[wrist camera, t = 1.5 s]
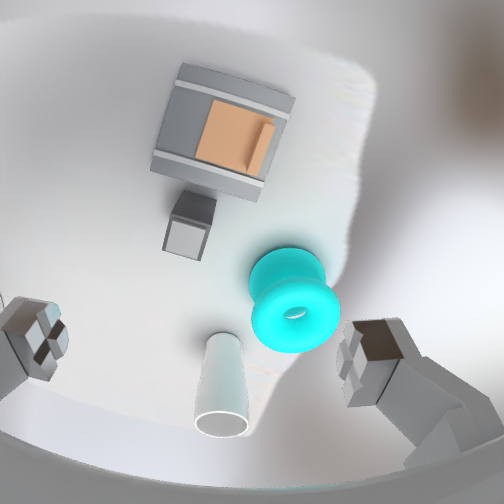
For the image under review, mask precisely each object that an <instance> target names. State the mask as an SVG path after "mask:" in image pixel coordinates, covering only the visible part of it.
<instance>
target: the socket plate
mask: <svg viewBox="0 0 504 504" xmlns="http://www.w3.org/2000/svg"><path fill="white" fill-rule="evenodd" d="M174 85H175V87H174V90H173V93H172V96H171V99H170V102H169V105H168V108H167V111H166V114H165V118H164V121H163V124H162V128H161V131H160V134H159V138H158V141H157V145H156V149H154V152H153V155H154V156H153V160H152V164H151V168H150V171H152V172H156V173H160V174H163V175H167V176H170V177H174V178H177V179H181V180H184V181H187V182H191V183H194V184H198V185H201V186H204V187H208V188H211V189H214V190H217V191H221V192H224V193H227V194H230V195H234V196H237V197H240V198H243V199H246V200H249V201H252V202H257V199H258V196H259V194H260V191H261V188H263V186H264V180H265V178H266V175H267V172H268V170H269V167H270V164H271V162H272V159H273V157H274V154H275V151H276V149H277V146H278V143H279V141H280V138H281V136H282V133H283V130H284V128H285V125H286V122H287V120H289V117H290V112H291V109H292V107H293V104H294V102H295V99H296V98H294V97H291V96H289V95H286V94H284V93H281V92H278V91H275V90H273V89H270V88H267V87H264V86H261V85H258V84H255V83H252V82H249V81H246V80H243V79H240V78H236V77H233V76H230V75H227V74H223V73H220V72H216V71H212V70H209V69H205V68H201V67H197V66H193V65H189V64H185V63H183V64H182V67H181V69H180V72H179V75H178V78H177V80H175V83H174ZM214 100H217V101H221V102H224V103H227V104H231V105H234V106H237V107H240V108H243V109H246V110H249V111H252V112H255V113H258V114H261V115H264V116H267V117H270V118H273V119H274V121H273V124H272V125H274V126H276V127H275V130H274V132H273V135H272V138H271V140H270V143H269V146H268V148H267V151H266V154H265V156H264V159H263V162H262V164H261V167H260V170H259V173H258V175H257V177H256V176H253V175H250V174H247V173H244V172H241V171H237V170H234V169H231V168H228V167H225V166H222V165H218V164H215V163H212V162H209V161H205V160H202V159H198V158H195V156H196V152H197V149H198V146H199V143H200V140H201V137H202V134H203V131H204V128H205V125H206V122H207V119H208V116H209V113H210V110H211V107H212V104H213V101H214Z"/></svg>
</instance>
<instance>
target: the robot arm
mask: <svg viewBox="0 0 504 504" xmlns="http://www.w3.org/2000/svg"><path fill="white" fill-rule="evenodd" d="M60 316H61V312H60V310H59V307H58V305H57V304H55V303H53V302H49V301H43V300H37V299H32V298H25V297H20V296H19V297H15V298H14V299H13V300H12V301H11V302H10V303H9V304H8V306H7V307H6V308H5V309H4V308H3V303H2V299H1V297H0V401H1V400H2V399H3V398H4V397H5V396H7V395H8V394H9V393H10V392H11V391H12V390H14V389H15V388H16V387H17V386H19V385H20V384H21V383H22V382H24V381H25V380H26V379H28V377H32V378H36V379H40V380H44V381H48V382H49V381H50V379H51V377H52V376H53V374H54V372H55V370H56V368H57V366H58V365H57V359H59V358H61V357H62V356H64V354H65V352H66V350H67V347H68V341H69V338H68V332H67V329H66V326H65V325H64V324H63V323H62V322H61V321H60V320H59V319H60ZM343 333H344V336H345V339H344V340H343V341H342V342H341V343H340V344H339V348H338V351H337V360H336V363H337V370H338V374H339V376H340V377H341V378H342V379H343V380H344V381H345V383H344V385H343V388H342V390H343V393H344V397H345V400H346V405H347V407H360V406H371V405H376V407H377V408H378V409H379V410H380V411H381V412H382V413H383V414H384V415H385V416H386V417H387V418H388V419H389V420H390V421H391V422H392V423H393V424H394V425H395V426H396V427H397V428H398V429H399V430H400V431H401V432H402V433H403V434H404V435H405V436H406V437H407V438H408V439H409V440H410V441H411V442H412V443H413V444H414V445H415V446H416V447H417V448H416V449H415V450H414V451H413V452H412V453H411V455H410V456H409V457H408V458H407V459H406V460H405V462H404V466H405V469H406V470H403V471H399V472H395V473H390V474H386V475H381V476H376V477H372V478H366V479H360V480H354V481H347V482H340V483H333V484H324V485H314V486H302V487H286V488H228V487H212V486H199V485H190V484H181V483H174V482H167V481H160V480H154V479H148V478H143V477H138V476H133V475H128V474H124V473H119V472H115V471H111V470H107V469H103V468H99V467H96V466H92V465H89V464H85V463H82V462H79V461H76V460H72V459H69V458H66V457H63V456H60V455H58V454H55V453H52V452H49V451H47V450H44V449H41V448H39V447H37V446H34V445H32V444H29V443H27V442H24V441H22V440H20V439H18V438H15V437H13V436H11V435H9V434H7V433H5V432H3V431H1V430H0V504H504V426H503V424H502V422H501V420H500V418H499V416H498V414H497V412H496V410H495V408H494V406H493V405H492V403H491V401H490V399H489V397H487V396H486V395H484V394H482V393H481V392H480V391H478V390H477V389H475V388H474V387H472V386H470V385H469V384H468V383H466V382H464V381H463V380H461V379H460V378H458V377H457V376H455V375H454V374H452V373H451V372H449V371H448V370H446V369H445V368H443V367H442V366H440V365H439V364H437V363H436V362H434V361H433V360H431V359H430V358H428V357H422V356H421V354H420V352H419V351H418V348H417V347H416V345H415V343H414V341H413V339H412V338H411V336H410V334H409V332H408V331H407V329H406V327H405V326H404V324H403V322H402V320H401V319H399V318H384V319H368V320H348V321H347V322H346V324H345V327H344V330H343Z"/></svg>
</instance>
